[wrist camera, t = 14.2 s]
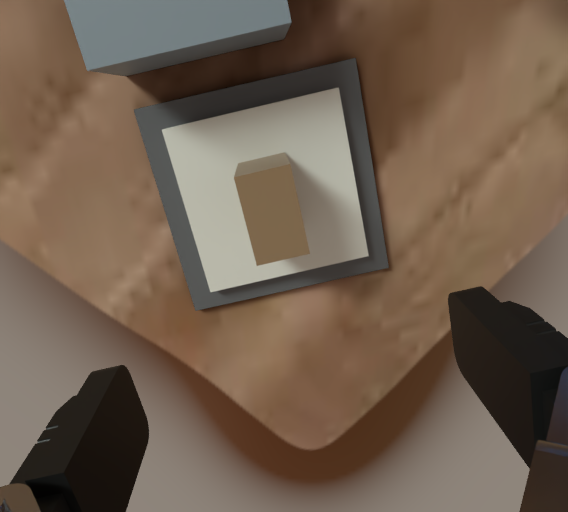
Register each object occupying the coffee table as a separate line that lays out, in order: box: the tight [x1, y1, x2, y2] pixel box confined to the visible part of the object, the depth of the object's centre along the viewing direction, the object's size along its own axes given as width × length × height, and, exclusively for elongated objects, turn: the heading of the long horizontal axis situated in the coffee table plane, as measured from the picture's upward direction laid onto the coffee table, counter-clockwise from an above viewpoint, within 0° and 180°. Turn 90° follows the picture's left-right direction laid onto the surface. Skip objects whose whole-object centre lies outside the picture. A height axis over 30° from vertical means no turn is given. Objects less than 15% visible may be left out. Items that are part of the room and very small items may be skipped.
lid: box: [162, 88, 369, 292], centre depth 29 cm, size 11×11×6 cm
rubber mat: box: [134, 58, 389, 311], centre depth 32 cm, size 14×14×1 cm
